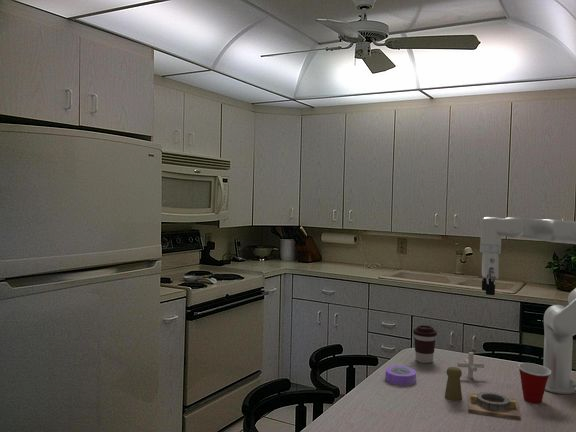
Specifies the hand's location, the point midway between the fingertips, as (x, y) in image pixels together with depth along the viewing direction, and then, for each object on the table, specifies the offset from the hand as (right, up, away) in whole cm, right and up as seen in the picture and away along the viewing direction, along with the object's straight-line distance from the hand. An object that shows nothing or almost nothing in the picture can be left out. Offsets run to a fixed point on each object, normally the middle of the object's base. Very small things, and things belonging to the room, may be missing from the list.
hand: (487, 292), depth 201 cm
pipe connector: (-5, -35, +5) cm, 36 cm away
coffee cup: (-18, -34, +26) cm, 46 cm away
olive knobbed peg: (-19, -36, -16) cm, 43 cm away
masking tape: (-34, -35, +2) cm, 49 cm away
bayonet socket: (-7, -36, -23) cm, 43 cm away
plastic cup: (+9, -36, -17) cm, 41 cm away
